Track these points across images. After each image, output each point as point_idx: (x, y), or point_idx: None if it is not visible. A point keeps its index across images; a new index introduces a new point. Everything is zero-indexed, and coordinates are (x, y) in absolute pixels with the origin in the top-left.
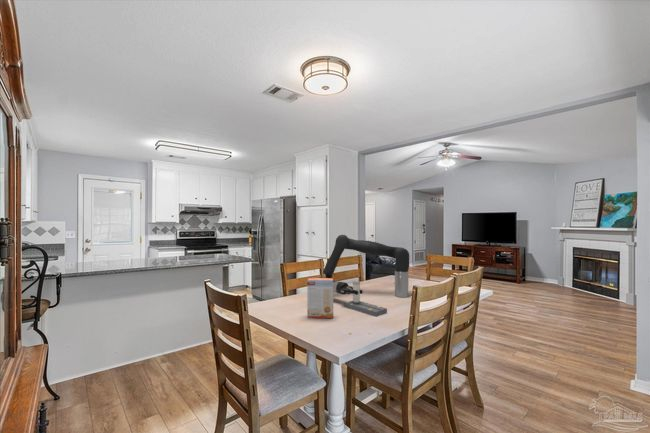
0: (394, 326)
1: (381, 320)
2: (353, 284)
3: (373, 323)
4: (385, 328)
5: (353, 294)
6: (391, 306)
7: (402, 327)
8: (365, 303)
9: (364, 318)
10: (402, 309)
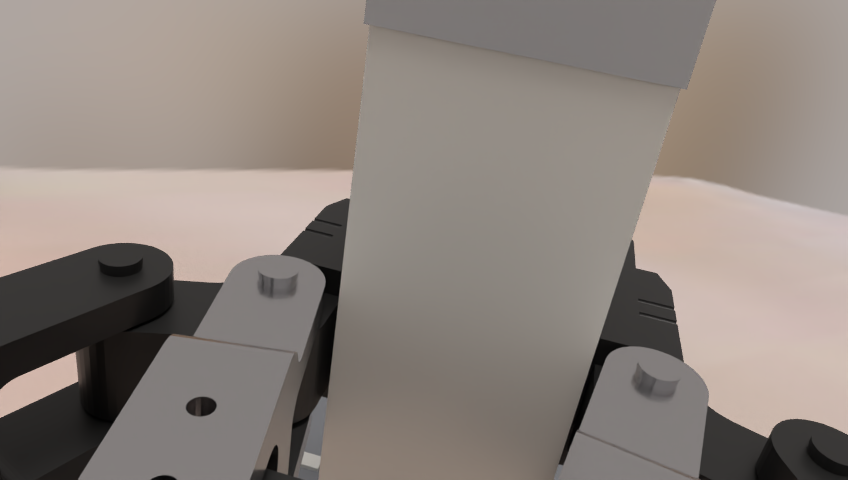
0: (691, 203)
1: (666, 264)
2: (673, 88)
3: (804, 296)
4: (789, 232)
5: None
6: (70, 246)
7: (658, 177)
8: (312, 439)
9: (791, 382)
10: (179, 180)
